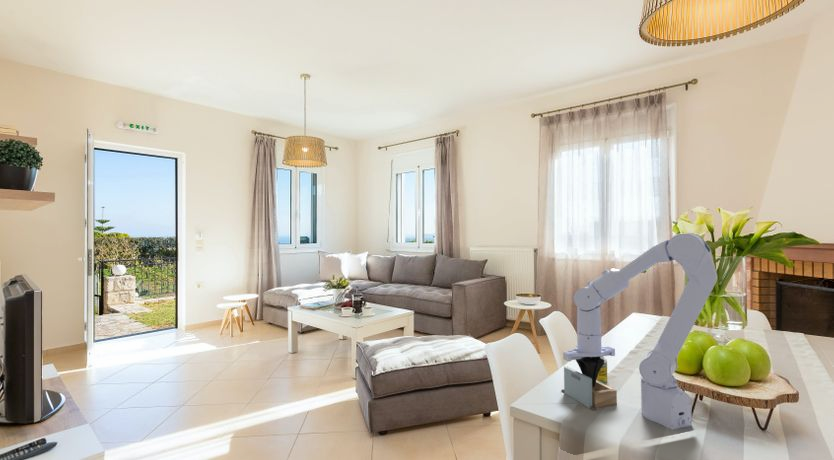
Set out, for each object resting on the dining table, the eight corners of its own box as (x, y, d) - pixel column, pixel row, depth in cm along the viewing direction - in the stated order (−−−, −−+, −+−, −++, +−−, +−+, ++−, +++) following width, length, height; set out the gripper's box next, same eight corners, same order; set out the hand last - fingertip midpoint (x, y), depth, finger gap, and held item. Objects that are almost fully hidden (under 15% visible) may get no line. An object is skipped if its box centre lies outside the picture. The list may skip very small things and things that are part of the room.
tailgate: (592, 407, 94) (592, 378, 94) (588, 408, 94) (587, 379, 94) (567, 392, 103) (567, 366, 103) (563, 393, 103) (563, 367, 103)
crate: (619, 409, 95) (619, 391, 95) (592, 414, 93) (592, 395, 93) (585, 391, 106) (585, 374, 106) (561, 395, 104) (561, 378, 104)
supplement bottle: (594, 377, 116) (593, 345, 116) (611, 383, 111) (610, 350, 112) (583, 381, 113) (582, 349, 113) (600, 387, 108) (600, 353, 109)
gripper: (600, 327, 106) (601, 376, 105) (555, 331, 101) (556, 383, 101) (621, 333, 99) (621, 386, 99) (573, 338, 95) (574, 393, 95)
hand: (589, 385), depth 100 cm, fingers closed
